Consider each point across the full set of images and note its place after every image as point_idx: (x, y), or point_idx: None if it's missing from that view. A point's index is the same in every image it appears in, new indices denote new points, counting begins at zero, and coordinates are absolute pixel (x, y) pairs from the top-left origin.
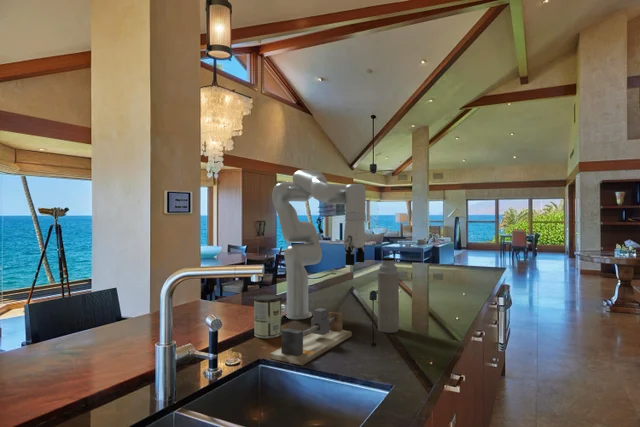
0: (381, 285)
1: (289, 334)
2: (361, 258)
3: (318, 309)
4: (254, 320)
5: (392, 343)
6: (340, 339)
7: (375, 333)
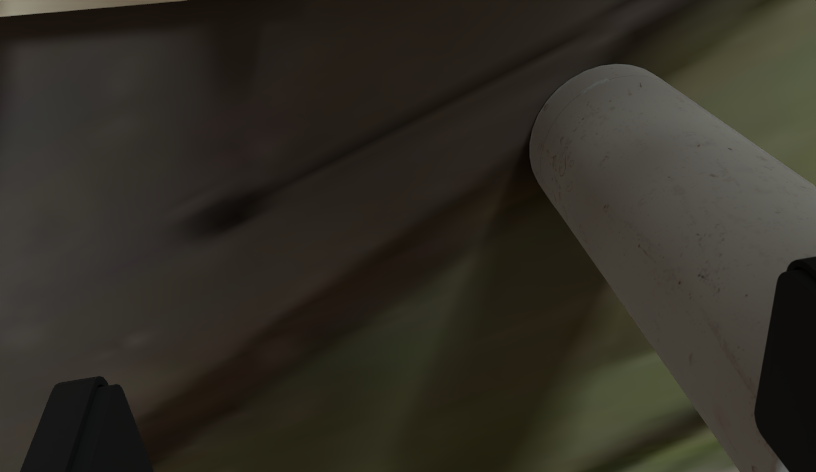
0: (702, 330)
1: None
2: (813, 454)
3: None
4: None
5: (324, 291)
6: (89, 6)
7: (469, 107)
